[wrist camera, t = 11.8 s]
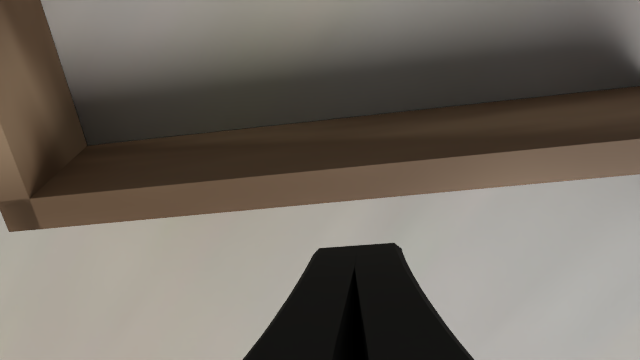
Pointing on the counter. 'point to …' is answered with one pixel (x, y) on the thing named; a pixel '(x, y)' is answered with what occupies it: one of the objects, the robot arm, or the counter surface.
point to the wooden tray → (281, 149)
